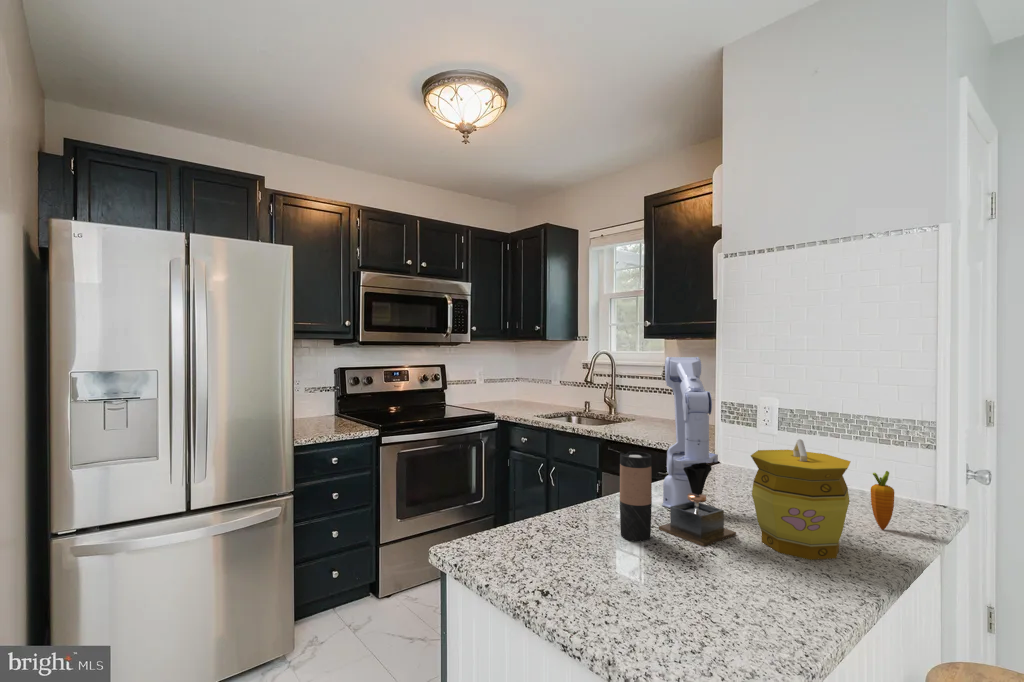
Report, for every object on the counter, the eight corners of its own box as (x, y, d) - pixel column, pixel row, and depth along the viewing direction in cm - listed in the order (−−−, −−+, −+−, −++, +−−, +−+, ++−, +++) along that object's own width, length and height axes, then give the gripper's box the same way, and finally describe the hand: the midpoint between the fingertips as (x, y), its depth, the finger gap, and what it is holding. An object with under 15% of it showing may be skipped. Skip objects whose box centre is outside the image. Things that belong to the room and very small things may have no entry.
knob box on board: (658, 529, 127) (658, 505, 127) (691, 519, 134) (691, 497, 134) (703, 546, 116) (703, 520, 116) (736, 535, 123) (736, 510, 124)
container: (834, 534, 124) (834, 434, 125) (870, 571, 104) (870, 450, 104) (742, 526, 130) (742, 430, 130) (759, 559, 110) (759, 445, 110)
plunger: (677, 514, 126) (677, 494, 126) (694, 510, 130) (694, 490, 130) (699, 522, 121) (699, 501, 121) (716, 517, 124) (716, 496, 124)
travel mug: (652, 543, 118) (652, 458, 118) (619, 540, 120) (619, 457, 120) (650, 531, 125) (650, 452, 126) (619, 529, 127) (619, 450, 127)
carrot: (872, 531, 127) (872, 471, 127) (869, 525, 131) (868, 467, 131) (896, 534, 124) (896, 474, 125) (892, 528, 129) (892, 470, 129)
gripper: (692, 445, 118) (692, 502, 118) (728, 439, 126) (728, 493, 126) (667, 440, 124) (667, 495, 124) (704, 435, 132) (704, 486, 132)
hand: (696, 493), depth 125 cm, fingers closed
